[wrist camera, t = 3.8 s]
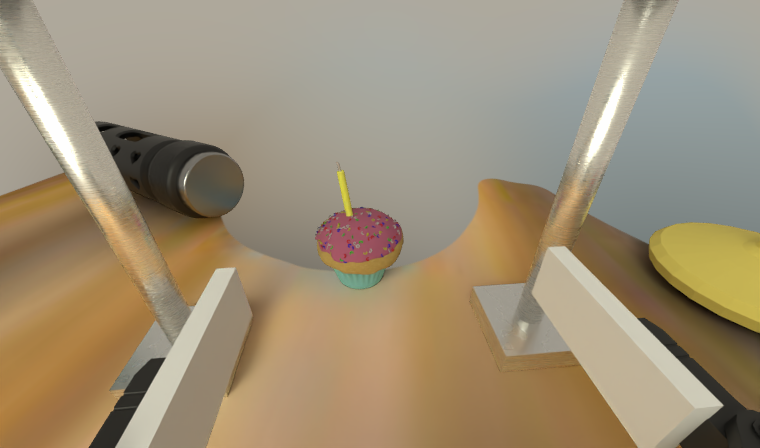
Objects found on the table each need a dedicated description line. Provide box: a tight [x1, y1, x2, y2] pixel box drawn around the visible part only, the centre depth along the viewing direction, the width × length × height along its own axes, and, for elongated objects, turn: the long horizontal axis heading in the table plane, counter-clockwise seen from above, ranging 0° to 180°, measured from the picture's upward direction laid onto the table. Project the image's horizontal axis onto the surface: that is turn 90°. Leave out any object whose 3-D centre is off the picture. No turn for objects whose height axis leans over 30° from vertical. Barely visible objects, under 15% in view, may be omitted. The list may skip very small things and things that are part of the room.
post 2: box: [470, 0, 679, 372], centre depth 19 cm, size 7×7×26 cm
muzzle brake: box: [95, 122, 244, 218], centre depth 44 cm, size 10×28×10 cm, turn 61°
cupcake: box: [315, 162, 403, 289], centre depth 29 cm, size 9×8×12 cm
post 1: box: [0, 0, 253, 400], centre depth 17 cm, size 7×7×26 cm
